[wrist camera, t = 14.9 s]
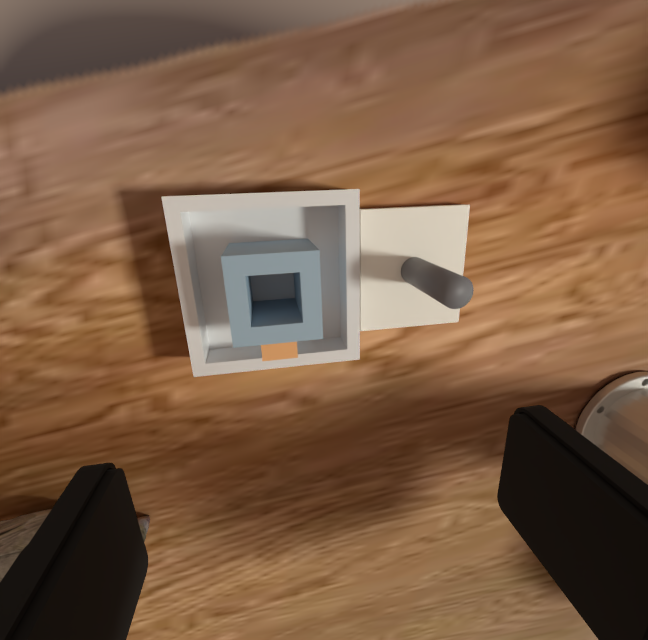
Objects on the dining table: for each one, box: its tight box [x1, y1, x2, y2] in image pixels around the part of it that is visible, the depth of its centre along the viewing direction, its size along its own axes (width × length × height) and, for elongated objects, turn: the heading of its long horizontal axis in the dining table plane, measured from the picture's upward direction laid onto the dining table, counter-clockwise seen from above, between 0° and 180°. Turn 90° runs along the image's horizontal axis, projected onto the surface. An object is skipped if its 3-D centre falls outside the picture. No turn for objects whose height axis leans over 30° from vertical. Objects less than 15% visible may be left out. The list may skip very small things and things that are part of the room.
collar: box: [221, 239, 323, 361], centre depth 26 cm, size 6×7×6 cm
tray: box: [161, 189, 360, 377], centre depth 28 cm, size 13×13×4 cm
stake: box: [359, 204, 473, 331], centre depth 27 cm, size 10×9×8 cm
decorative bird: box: [0, 509, 150, 582], centre depth 30 cm, size 5×16×7 cm, turn 80°
